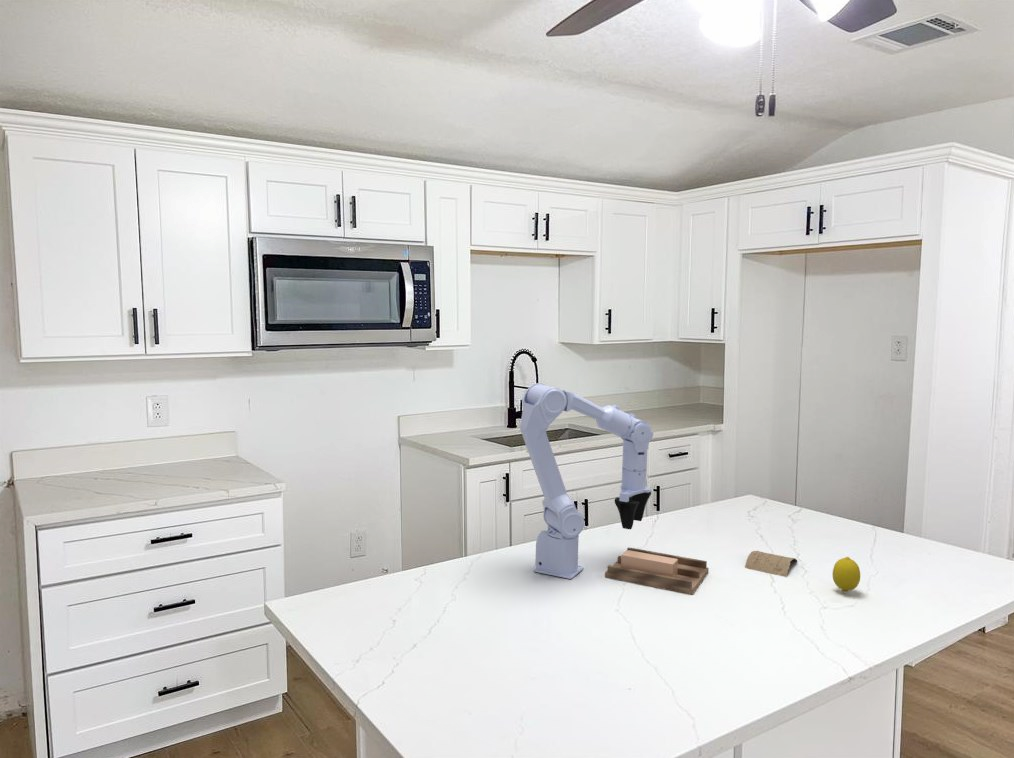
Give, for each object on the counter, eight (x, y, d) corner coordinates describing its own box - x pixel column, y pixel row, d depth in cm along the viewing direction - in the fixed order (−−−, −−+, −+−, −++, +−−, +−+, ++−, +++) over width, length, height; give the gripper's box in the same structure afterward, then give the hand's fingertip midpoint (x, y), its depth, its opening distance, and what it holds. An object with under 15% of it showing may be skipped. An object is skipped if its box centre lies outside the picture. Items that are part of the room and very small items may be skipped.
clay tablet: (786, 580, 173) (787, 569, 172) (742, 571, 178) (742, 560, 178) (798, 562, 185) (799, 551, 185) (756, 554, 190) (757, 544, 190)
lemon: (830, 594, 163) (832, 558, 163) (832, 585, 168) (834, 551, 167) (858, 599, 161) (860, 563, 160) (859, 590, 166) (862, 555, 165)
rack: (604, 577, 171) (605, 565, 170) (626, 557, 184) (626, 547, 184) (692, 594, 162) (693, 582, 161) (708, 572, 175) (708, 561, 175)
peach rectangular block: (620, 571, 171) (621, 554, 171) (626, 566, 175) (626, 549, 174) (672, 581, 165) (673, 564, 165) (677, 576, 169) (678, 559, 169)
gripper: (641, 477, 170) (639, 535, 172) (659, 465, 183) (657, 519, 184) (611, 473, 173) (609, 530, 175) (631, 461, 186) (629, 514, 188)
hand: (632, 524), depth 180 cm, fingers open, 7 cm apart
